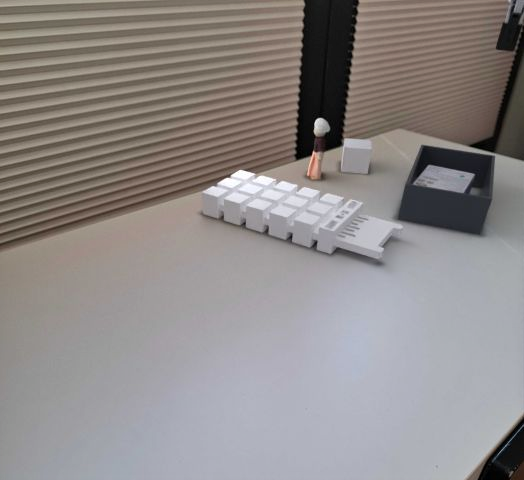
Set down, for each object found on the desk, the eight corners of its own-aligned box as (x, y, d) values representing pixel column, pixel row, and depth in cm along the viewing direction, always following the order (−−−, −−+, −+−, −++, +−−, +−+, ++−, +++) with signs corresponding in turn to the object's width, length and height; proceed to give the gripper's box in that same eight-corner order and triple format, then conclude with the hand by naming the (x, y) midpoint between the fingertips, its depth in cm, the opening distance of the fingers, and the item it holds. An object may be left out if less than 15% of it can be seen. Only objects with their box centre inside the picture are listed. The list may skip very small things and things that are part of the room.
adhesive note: (366, 166, 119) (371, 140, 115) (367, 176, 114) (372, 149, 110) (340, 164, 119) (344, 137, 115) (340, 174, 115) (344, 147, 111)
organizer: (240, 169, 102) (407, 214, 89) (240, 192, 105) (401, 239, 92) (201, 192, 93) (381, 245, 81) (203, 216, 97) (375, 271, 84)
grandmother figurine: (303, 172, 115) (309, 113, 106) (320, 172, 115) (326, 113, 107) (310, 186, 109) (315, 124, 101) (327, 186, 109) (334, 124, 101)
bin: (413, 178, 114) (421, 144, 109) (483, 190, 110) (495, 155, 106) (396, 221, 98) (405, 184, 93) (478, 237, 94) (492, 199, 89)
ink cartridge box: (421, 189, 109) (401, 213, 99) (427, 163, 105) (407, 186, 96) (468, 200, 105) (452, 226, 96) (476, 173, 102) (460, 197, 92)
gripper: (576, -85, 72) (527, 60, 84) (567, -84, 83) (526, 44, 95) (520, -87, 74) (481, 55, 86) (519, -86, 85) (484, 40, 97)
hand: (504, 49), depth 91 cm, fingers closed
